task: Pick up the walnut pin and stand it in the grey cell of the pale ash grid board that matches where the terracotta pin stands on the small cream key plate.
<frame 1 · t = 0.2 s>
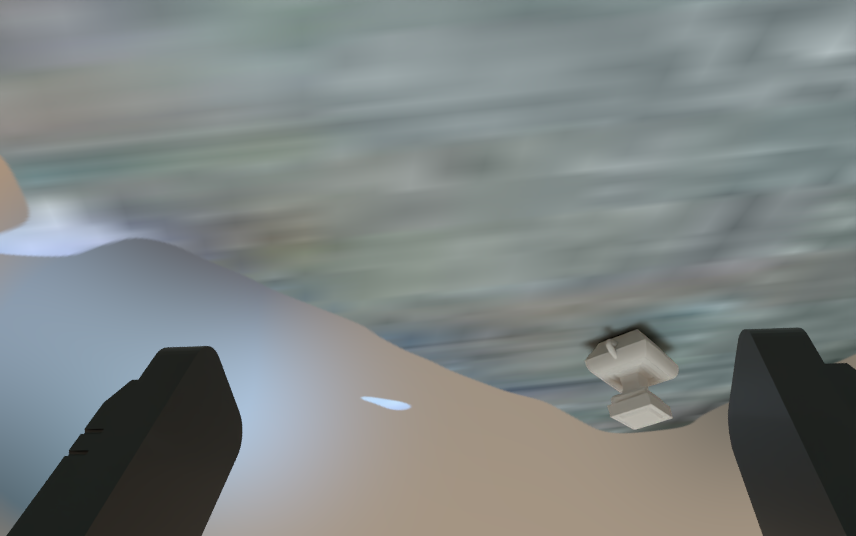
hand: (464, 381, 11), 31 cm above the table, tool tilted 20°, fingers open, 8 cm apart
stamp: (628, 340, 68), on the table
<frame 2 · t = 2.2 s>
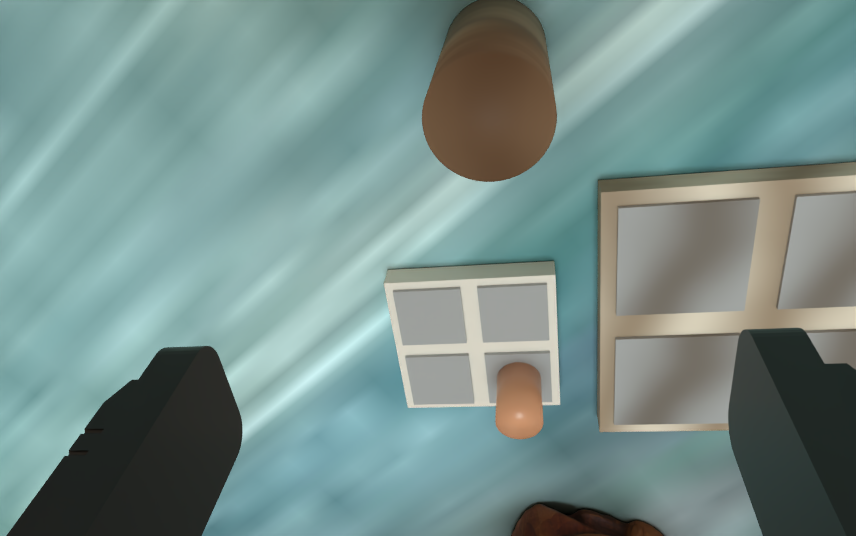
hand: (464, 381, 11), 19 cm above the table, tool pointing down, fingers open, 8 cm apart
layout board: (749, 304, 32), on the table
key plate: (476, 331, 34), on the table
walnut pin: (495, 49, 27), on the table
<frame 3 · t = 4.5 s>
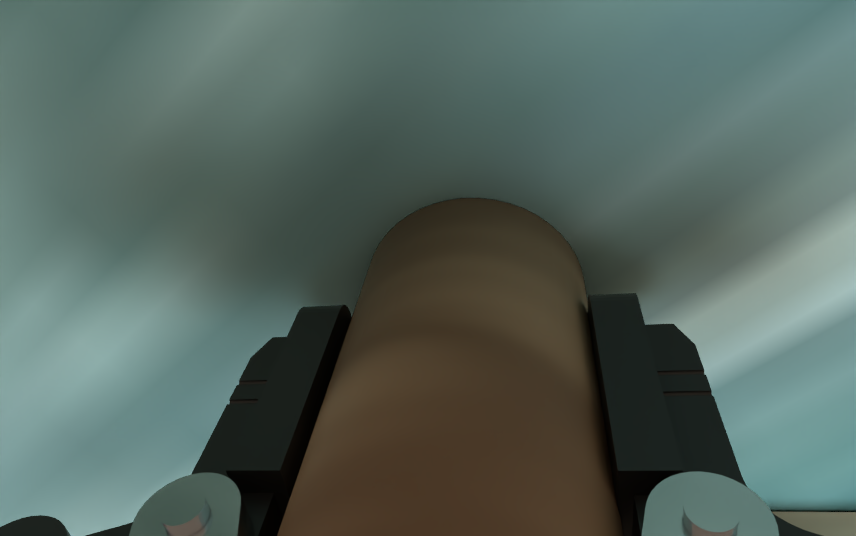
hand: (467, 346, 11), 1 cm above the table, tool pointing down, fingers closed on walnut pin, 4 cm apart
walnut pin: (474, 295, 12), on the table, touching gripper
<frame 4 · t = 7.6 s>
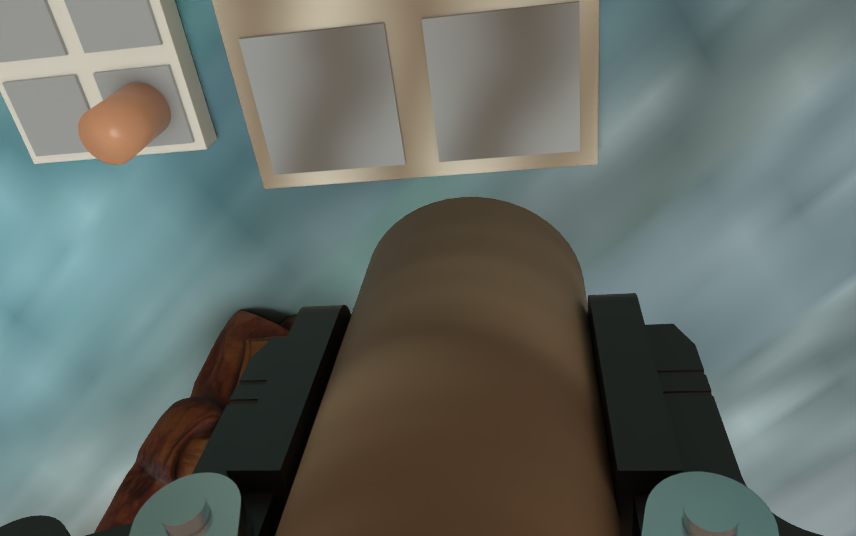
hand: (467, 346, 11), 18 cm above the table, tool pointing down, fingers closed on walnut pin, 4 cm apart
wooden figurine: (324, 362, 36), on the table
key plate: (97, 54, 28), on the table
walnut pin: (473, 294, 12), point 16 cm above the table, touching gripper
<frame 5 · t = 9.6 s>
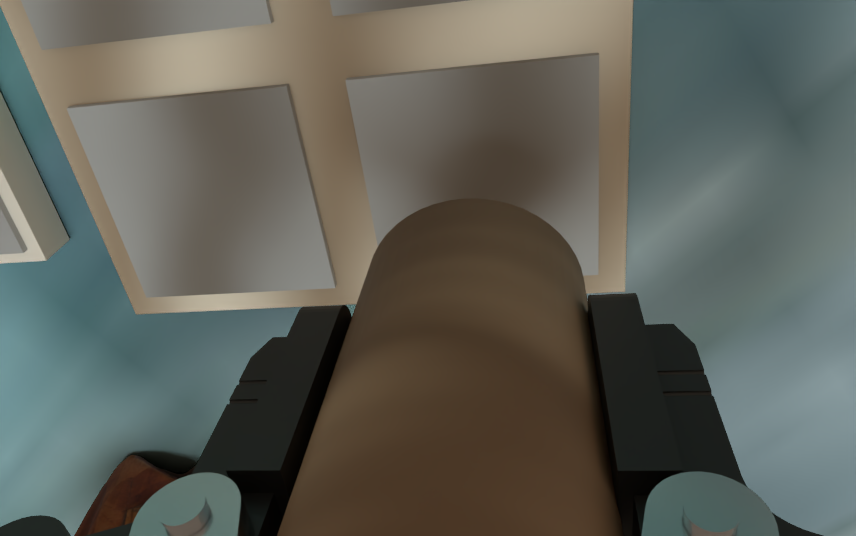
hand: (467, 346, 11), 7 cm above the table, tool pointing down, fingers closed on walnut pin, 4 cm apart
wooden figurine: (250, 515, 27), on the table
layout board: (323, 36, 16), on the table
walnut pin: (474, 295, 12), point 6 cm above the table, touching gripper
when the fingers open (4 cm above the table, at t = 11.1 s): walnut pin drops 1 cm, resting on layout board.
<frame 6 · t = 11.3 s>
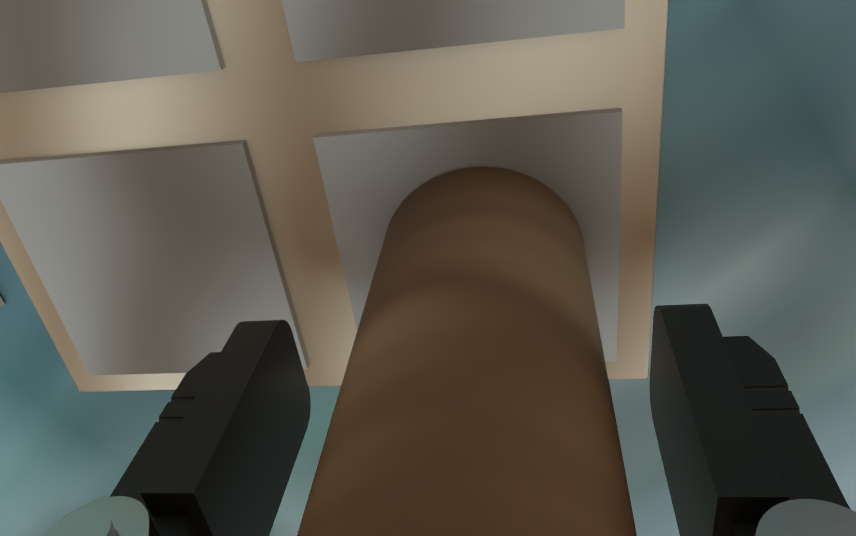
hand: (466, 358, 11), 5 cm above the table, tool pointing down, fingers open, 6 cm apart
layout board: (289, 81, 14), on the table
walnut pin: (482, 258, 14), point 1 cm above the table, touching layout board
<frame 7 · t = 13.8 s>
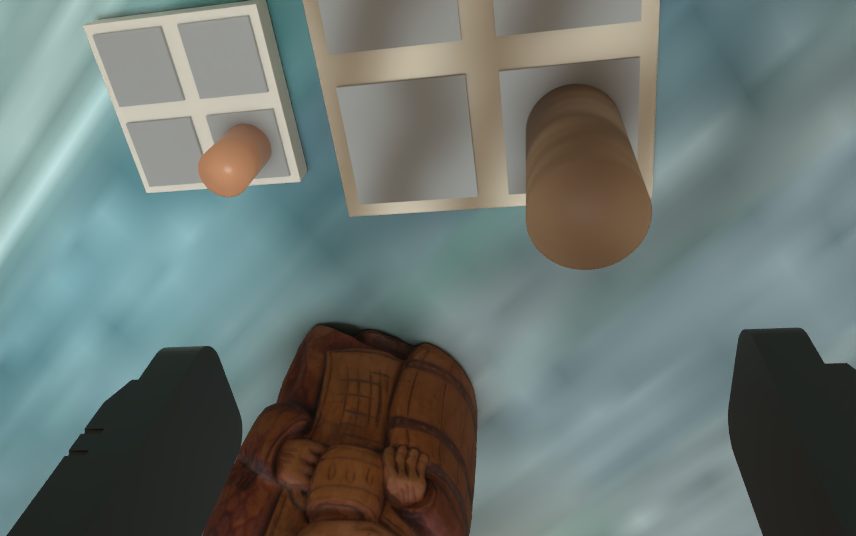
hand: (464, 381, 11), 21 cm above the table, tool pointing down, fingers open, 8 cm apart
wooden figurine: (391, 372, 39), on the table
layout board: (482, 47, 29), on the table
key plate: (207, 98, 32), on the table
walnut pin: (573, 130, 29), point 1 cm above the table, touching layout board
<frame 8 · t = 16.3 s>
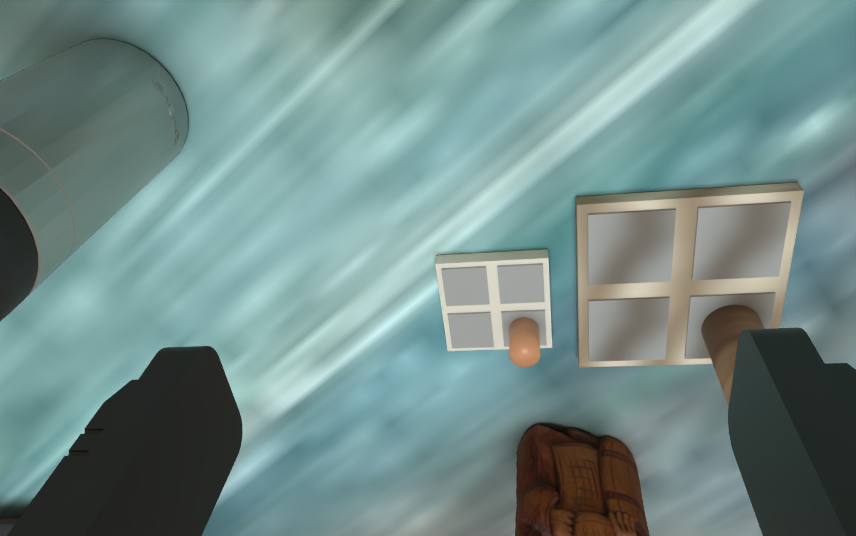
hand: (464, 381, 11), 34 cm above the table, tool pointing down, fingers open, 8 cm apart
wooden figurine: (579, 453, 59), on the table
layout board: (676, 278, 48), on the table
key plate: (495, 297, 51), on the table
walnut pin: (730, 327, 48), point 1 cm above the table, touching layout board
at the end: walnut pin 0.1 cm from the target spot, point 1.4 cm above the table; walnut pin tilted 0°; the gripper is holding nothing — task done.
